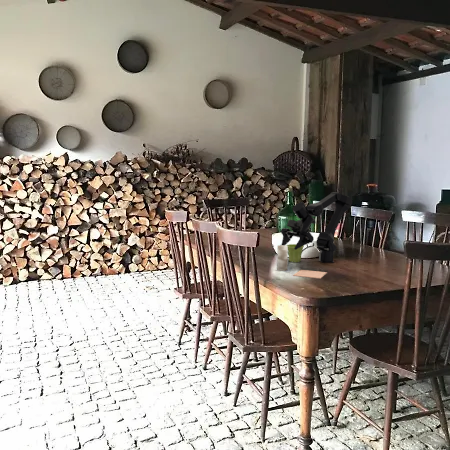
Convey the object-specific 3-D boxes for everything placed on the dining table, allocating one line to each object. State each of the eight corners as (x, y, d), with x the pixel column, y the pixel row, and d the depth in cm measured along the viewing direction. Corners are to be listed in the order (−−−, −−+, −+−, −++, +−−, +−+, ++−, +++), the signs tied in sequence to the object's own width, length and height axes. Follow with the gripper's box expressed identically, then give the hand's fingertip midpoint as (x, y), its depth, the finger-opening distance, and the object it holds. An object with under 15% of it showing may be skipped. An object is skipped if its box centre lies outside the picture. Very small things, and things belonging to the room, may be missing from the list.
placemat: (300, 270, 241) (300, 269, 241) (326, 272, 236) (326, 272, 236) (293, 275, 229) (293, 275, 229) (320, 278, 224) (320, 277, 224)
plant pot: (304, 263, 258) (304, 247, 257) (286, 263, 259) (286, 246, 258) (302, 259, 268) (303, 244, 266) (285, 259, 268) (285, 244, 267)
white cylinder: (286, 268, 245) (286, 245, 243) (288, 270, 240) (288, 246, 238) (276, 268, 244) (276, 245, 243) (278, 271, 240) (278, 247, 238)
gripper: (283, 212, 252) (267, 235, 246) (310, 215, 237) (294, 240, 232) (293, 226, 257) (278, 249, 252) (320, 230, 243) (304, 254, 237)
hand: (288, 247), depth 243 cm, fingers open, 9 cm apart
